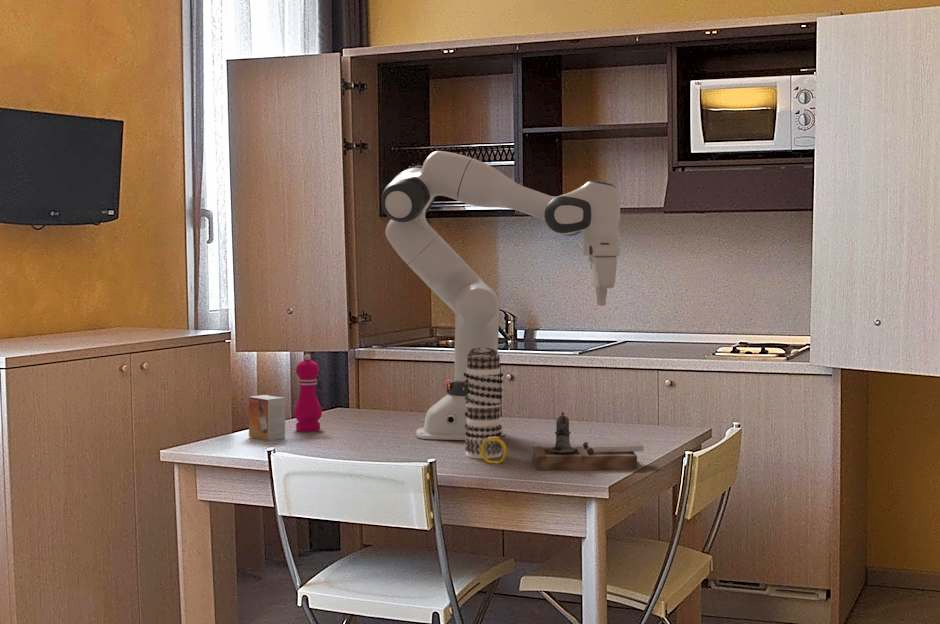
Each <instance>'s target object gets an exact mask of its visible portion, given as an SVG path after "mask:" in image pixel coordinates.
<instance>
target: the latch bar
mask: <svg viewBox="0 0 940 624" xmlns="http://www.w3.org/2000/svg"><path fill="white" fill-rule="evenodd" d="M588 443H589V442H588ZM588 448H592V449H593V451H594V452H593V453H604V452H634V453H635V452H644V445H643V444H642V442H640V441H629V442H627V441H625V442H597V443H596V442H594V443H592V442H591V443H589V444H587V449H588Z"/></svg>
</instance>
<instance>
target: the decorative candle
mask: <svg viewBox="0 0 940 624" xmlns="http://www.w3.org/2000/svg"><path fill="white" fill-rule="evenodd" d="M466 356H467V358H468V359H467V364H468V367H467V374H466V373H464V376H465V377H466V378H467V379H466V380H465V381H464V384H465V385H466V387H465V388H464V391H466V392H467V393H468V394H467V395H465V400H467V402H465V403H466V406H467V407H468V417H467V425H466V427H465V428H466V429H467V430H468V431H467V432H466V433H465V435H466V436H468V438H467V439H466V440H464V441H465V442H464V443H465V447H464V450H465V451H466V452H465V456H466V457H467V458H471V459H480V460H482V459H483V458H482V455H481V446H482V444H483V442H484V441H486V440H487V438H488V437H491V436H498V437H502V436H503V435H502V433H501V432H500V431H499V430H500V429H501V428H503V425H502V426H501V425H500V419H501V415H500V414H501V413H500V409H501V408H500V407H502V403H501V402H500V400H502V398H503V395H502V394H500V395H499V392H500V393H501V392H503V388H502V387H500V388H499V384H500V385H501V384H503V383H504V380H502V379H501V378H502V377H504V373H503V372H501V367H500V364H501V363H500V362H501V361H500V356H501V354H500V353H499V352H498V353H497V351H496V350H495V349H494V348H473V349H471V350H470V352H469V354H467V355H466ZM501 435H502V436H501ZM500 440H502V439H501V438H500ZM502 450H503V447H502V446H501V444H500V443H499V442H497V441H488V442H487V443H486V445H485V447H484V452H485V455H486V457H487V458H488V459H496V458H500V457H502V452H501V451H502ZM483 460H484V459H483Z"/></svg>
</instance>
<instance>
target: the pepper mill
mask: <svg viewBox="0 0 940 624" xmlns="http://www.w3.org/2000/svg"><path fill="white" fill-rule="evenodd" d="M303 359H304V360H301V361H300V362H298V363H297V365H296V367H295V372H296V375H297V376H298V379H297V384H298V386H299V396H298V400H297V402H296V404H295V406H294V411H293V413H294V414H293V415H294V416H293V417H294V418H295V419H296V421H297V423H296V424H295V429H296V431H297V432H300V433H301V432H305V433H310V432H319V431H320V430H321V423H320V422H319V420H320V419H321V417H322V415H323V413H322V407H321V404H320V401H319V399H318V397H317V391H316V390H317V389H316V385H318V378H317V376H319V372H320V366H319V365H318V363H317V362H315V361H314V360H311V359H312V357H311V355H310V354H308V353H307V354H304V356H303Z"/></svg>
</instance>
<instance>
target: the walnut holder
mask: <svg viewBox="0 0 940 624" xmlns="http://www.w3.org/2000/svg"><path fill="white" fill-rule="evenodd" d="M587 444H589V442H588V441H584V442H583V444H582V445H581V446H580V445H579V446H571V447H572V448H574V449H576V451H574V455H551V451H550V450H549V449H551V448H553V447H554V446H532V462H533V464H534V466H535V469H536V471H593V470H594V471H606V470H608V471H610V470H612V471H621V470H622V471H623V470H624V471H628V470H630V471H632V470H635V471H637V470H638V455H637V454H636V453H635V452H604V453H593V452H594V451H593V449H592V448H588V449H587Z"/></svg>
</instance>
